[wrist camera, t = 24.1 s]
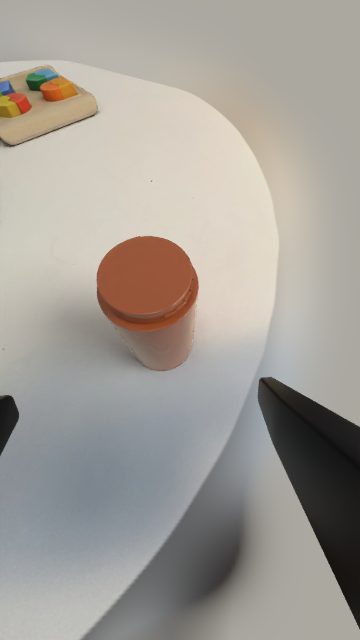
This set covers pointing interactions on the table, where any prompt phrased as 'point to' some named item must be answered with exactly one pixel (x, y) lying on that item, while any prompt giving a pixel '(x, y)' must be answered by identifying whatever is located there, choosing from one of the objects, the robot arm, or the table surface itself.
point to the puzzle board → (40, 104)
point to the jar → (150, 299)
